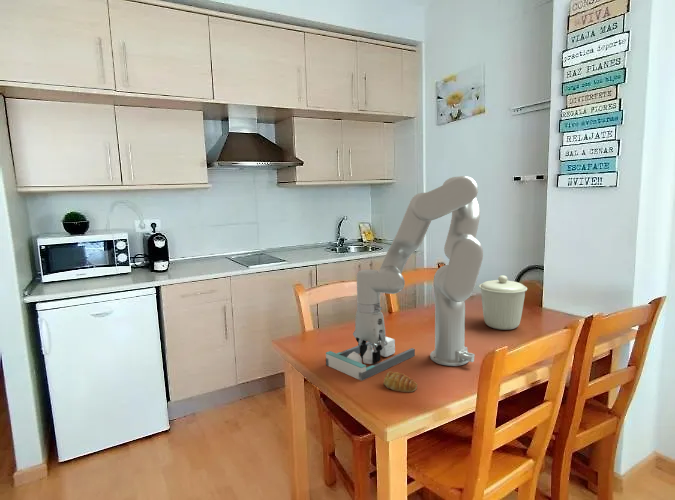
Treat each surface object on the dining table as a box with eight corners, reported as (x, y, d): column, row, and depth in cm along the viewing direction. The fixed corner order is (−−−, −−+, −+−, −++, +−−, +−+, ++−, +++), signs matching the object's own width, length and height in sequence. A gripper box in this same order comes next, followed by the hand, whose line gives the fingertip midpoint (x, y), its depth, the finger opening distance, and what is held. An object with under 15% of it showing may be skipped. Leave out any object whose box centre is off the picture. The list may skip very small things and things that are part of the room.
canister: (536, 329, 163) (538, 277, 160) (500, 336, 157) (501, 282, 154) (502, 316, 180) (503, 269, 177) (469, 322, 173) (469, 273, 170)
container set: (384, 350, 146) (383, 335, 145) (395, 354, 142) (395, 339, 142) (343, 368, 133) (342, 351, 132) (354, 372, 129) (353, 356, 128)
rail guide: (414, 355, 141) (414, 343, 140) (361, 380, 124) (361, 367, 123) (379, 343, 153) (378, 332, 152) (326, 365, 136) (325, 352, 135)
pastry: (420, 386, 119) (420, 374, 119) (411, 396, 114) (411, 383, 113) (391, 379, 125) (391, 367, 124) (381, 388, 119) (381, 376, 118)
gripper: (396, 309, 131) (397, 363, 134) (358, 300, 144) (359, 350, 146) (380, 315, 126) (381, 371, 129) (342, 305, 139) (344, 356, 141)
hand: (370, 359), depth 138 cm, fingers closed on container set, 5 cm apart
